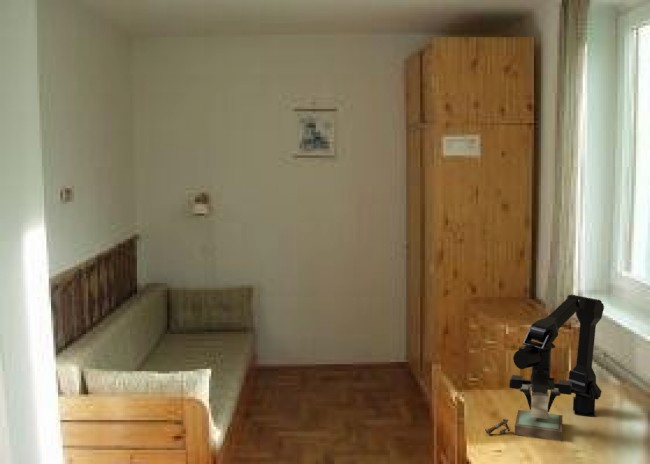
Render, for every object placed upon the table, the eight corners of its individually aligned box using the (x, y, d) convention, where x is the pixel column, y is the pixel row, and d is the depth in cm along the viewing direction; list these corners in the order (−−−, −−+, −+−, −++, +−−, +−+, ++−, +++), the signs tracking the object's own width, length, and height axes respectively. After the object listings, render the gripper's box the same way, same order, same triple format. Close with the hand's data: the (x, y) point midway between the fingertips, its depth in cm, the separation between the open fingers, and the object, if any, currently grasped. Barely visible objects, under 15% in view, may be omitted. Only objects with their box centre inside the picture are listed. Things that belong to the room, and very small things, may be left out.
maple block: (547, 413, 220) (548, 392, 220) (547, 419, 216) (548, 397, 215) (531, 411, 222) (532, 390, 221) (530, 417, 217) (531, 395, 217)
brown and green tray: (562, 424, 224) (562, 414, 223) (561, 441, 211) (561, 430, 210) (517, 418, 228) (518, 409, 228) (514, 434, 215) (514, 424, 215)
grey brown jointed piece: (513, 430, 217) (508, 418, 216) (492, 442, 215) (487, 430, 214) (510, 428, 219) (505, 416, 218) (489, 440, 217) (484, 428, 216)
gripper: (508, 367, 212) (507, 416, 214) (572, 374, 206) (570, 423, 208) (511, 357, 223) (510, 403, 225) (572, 363, 217) (570, 410, 218)
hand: (539, 410), depth 219 cm, fingers closed on maple block, 5 cm apart
